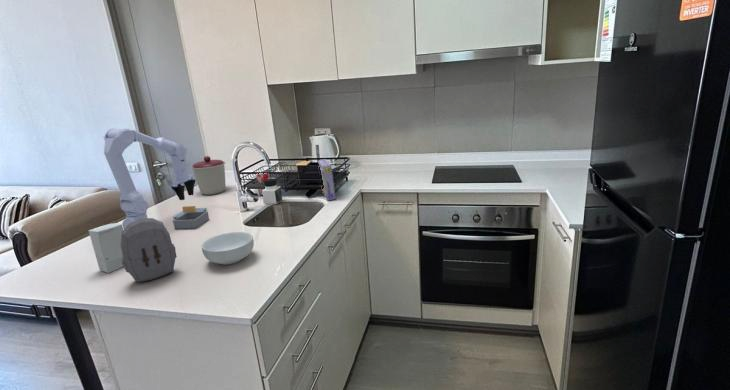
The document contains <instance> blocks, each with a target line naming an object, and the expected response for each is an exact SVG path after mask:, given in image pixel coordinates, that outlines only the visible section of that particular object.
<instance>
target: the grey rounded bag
mask: <svg viewBox="0 0 730 390" xmlns="http://www.w3.org/2000/svg"><path fill="white" fill-rule="evenodd" d="M121 233H122V236H121V250H122V254H123V257H122V258H121V260H122V265H123V266H124V269H125V272H126V273H128V274H130V276H131V277H132V279H133V280H134V281H135V282H136V283H141V282H147V281H150V280H151V281H152V280H155V279H158V278H160V277H164V276H166V275H169V273H172V272H173V271H174V270H175V264H176V263H175V262H176V259H177V257H178V256H177V252H176V247H175V245H174V243H172V242H173V241H172V240H171V239H172V238H171V235H170V232H169V230H167V227H166V226H165V225H164V222H163V221H160V220H159V219H156V218H153V217H147V218H140V219H138V220H136V221H134V222H131V223H129V224H128V225H127V226H126V228H125V229H123V231H122V232H121Z"/></svg>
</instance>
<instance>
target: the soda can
mask: <svg viewBox="0 0 730 390" xmlns="http://www.w3.org/2000/svg"><path fill="white" fill-rule="evenodd" d="M258 173H259V172H257V173H256V181H257V180H258V182H260V183H261V182H264V180H265V179H268V178H271V176H270V173H269V172H268V173H264V174H263V173H259V174H258ZM257 190H258V194H259V195H260V194H261V195H260V196H262V190H263V189H258V188H257Z"/></svg>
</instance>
